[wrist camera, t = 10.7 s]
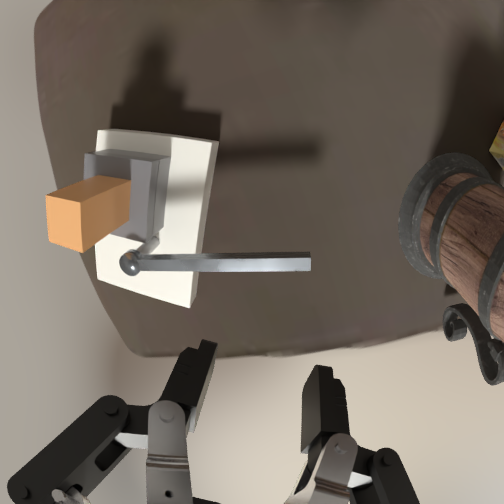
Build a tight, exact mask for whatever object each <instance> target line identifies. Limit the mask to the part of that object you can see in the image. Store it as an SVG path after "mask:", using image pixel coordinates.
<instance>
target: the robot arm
mask: <svg viewBox="0 0 504 504" xmlns="http://www.w3.org/2000/svg"><path fill="white" fill-rule="evenodd" d="M217 348H218V343H215V342H211V341H207V340H204V339H202V341H201V343H200V346H199V348H198V350H197V349H194V348H190V347H188V348H186V349H185V350H184V351H183V352H182V353H180V355H179V358H178V360H177V362H176V364H175V366H174V369H173V371H172V373H171V375H170V377H169V380H168V382H167V384H166V387H165V389H164V391H163V393H162V396H161V397H160V399H159V400H158V401H157V402H155V403H153V404H151V405H148V406H135V405H127V404H126V403H125V402H124V400H122V399H121V398H119V397H117V396H113V395H107V396H103V397H101V398H100V399H99V400H97V401H96V402H95V403H94V404H93V405H92V406H91V407H90V408H88V410H86V411H85V412H84V413H83V414H82V415H81V416H80V417H79V418H77V419H76V420H75V421H74V422H73V423H72V424H71V425H70V426H68V427H67V428H66V429H65V430H64V431H63V432H62V433H61V434H60V435H58V436H57V437H56V438H55V439H54V440H53V441H52V442H51V443H49V444H48V445H47V446H46V447H45V448H44V449H43V450H42V451H40V452H39V453H38V454H37V455H36V456H35V457H34V458H33V459H31V460H30V461H29V462H28V463H27V464H26V465H25V466H24V467H22V468H21V469H20V470H19V471H18V472H17V473H16V474H15V475H13V476H12V477H11V478H10V480H9V481H8V484H7V489H8V493H9V496H10V498H11V499H12V501H13V502H14V503H15V504H91V503H90V501H89V500H88V499H87V496H88V495H89V494H90V493H91V492H92V491H93V490H94V489H95V488H96V486H97V485H98V484H99V483H100V482H101V481H102V480H103V479H104V478H105V477H106V476H107V475H108V474H109V473H110V472H111V471H112V470H113V468H115V466H116V465H117V464H118V463H119V462H120V461H121V460H122V459H123V458H124V457H125V455H127V454H128V452H129V451H130V450H131V449H132V448H140V449H148V457H147V460H146V488H147V504H220V503H217V502H213V501H208V500H204V499H199V498H195V497H192V490H191V481H190V471H189V463H188V457H187V443H186V438H187V435H188V432H189V431H190V432H194V431H195V427H196V424H197V421H198V418H199V415H200V411H201V408H202V405H203V402H204V399H205V395H206V392H207V389H208V386H209V383H210V379H211V376H212V373H213V369H214V364H215V359H216V353H217ZM346 405H347V402H346V394H345V388H344V386H343V384H342V383H341V381H340V379H334V378H333V369H332V367H328V366H322V365H315V366H314V368H313V370H312V372H311V374H310V376H309V377H308V379H307V381H306V383H305V385H304V388H303V392H302V427H301V428H302V430H301V431H302V432H301V453H305V454H308V460H307V461H306V462H305V464H304V466H303V468H302V471H301V473H300V475H299V477H298V480H297V482H296V484H295V486H294V488H293V491H292V492H291V495H290V496H289V498H288V499H287V500H286V501H285V503H284V504H348V502H349V501H350V504H420V503H419V500H418V498H417V496H416V494H415V491H414V489H413V486H412V484H411V482H410V480H409V477H408V475H407V473H406V471H405V468H404V466H403V464H402V462H401V460H400V457H399V455H398V454H397V453H396V452H395V451H394V450H392V449H390V448H382V449H379V450H378V451H377V452H375V451H372V450H369V449H365V448H363V447H360V446H359V445H357V443H356V441H355V440H354V439H353V438H352V437H351V435H350V432H349V431H350V430H349V421H348V411H347V407H346Z"/></svg>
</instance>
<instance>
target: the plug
mask: <svg viewBox="0 0 504 504" xmlns="http://www.w3.org/2000/svg"><path fill="white" fill-rule="evenodd" d="M158 166H159V160H158V159H151V158H144V157H136V156H129V155H121V154H112V153H103V152H89V153H85V160H84V180H83V181H80V182H77V183H75V184H72V185H69V186H67V187H64V188H62V189H59V190H57V191H55V192H52V193H50V194H47V195H46V211H47V224H48V234H49V241H50V242H52V243H55V244H58V245H61V246H64V247H67V248H70V249H73V250H75V251H79V252H82V253H83V252H85V251H86V250H88V249H89V248H90V247H92V246H93V245H94V244H96V243H97V242H99V241H100V240H101V239H103V238H104V237H106V236H107V235H108V234H112V235H115V236H119V237H123V238H127V239H130V240H134V241H138V242H142V243H147V242H148V241H149V240H150V239H152V235H153V219H154V206H155V194H156V184H157V174H158Z"/></svg>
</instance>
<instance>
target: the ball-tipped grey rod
mask: <svg viewBox="0 0 504 504" xmlns="http://www.w3.org/2000/svg"><path fill="white" fill-rule="evenodd" d="M119 265H120V268H121V269H122V271H123V272H124V273H125V274H127V275H129V276H136V275H137V274H138V273H139V272H140V271H196V272H237V271H311V256H310V252H266V253H204V254H141V253H140V252H139V251H137V250H135V249H130V250H128V251H127V252H126V253H124V254H123V255H122V256H121V257H120V259H119Z"/></svg>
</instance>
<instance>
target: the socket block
mask: <svg viewBox="0 0 504 504" xmlns="http://www.w3.org/2000/svg"><path fill="white" fill-rule="evenodd" d="M218 146H219V141H214V140H208V139H201V138H195V137H188V136H181V135H173V134H165V133H156V132H146V131H136V130H123V129H104V130H98V135H97V145H96V152H103V153H112V154H121V155H129V156H136V157H144V158H151V159H158V160H159V166H158V174H157V184H156V194H155V206H154V219H153V235H152V239H150V240H149V241H148V242H147V243H142V242H138V241H134V240H130V239H127V238H123V237H119V236H115V235H112V234H108V235H107V236H106V237H104V238H103V239H101V240H100V241H99V242H97V243H96V244H95V253H96V266H97V277H98V279H99V280H102V281H105V282H107V283H110V284H113V285H116V286H119V287H122V288H125V289H128V290H131V291H134V292H137V293H141V294H144V295H147V296H150V297H153V298H157V299H160V300H163V301H166V302H170V303H173V304H177V305H180V306H184V307H187V308H190V306H191V304H192V302H193V301H194V299H195V297H196V294H197V285H198V277H199V272H196V271H140V272H139V273H138V274H137V275H136V276H129V275H127V274H125V273H124V272H123V271H122V269H121V268H120V265H119V259H120V257H121V256H122V255H123V254H124V253H126V252H127V251H128V250H130V249H135V250H137V251H139V252H140V253H141V254H201V253H202V246H203V238H204V231H205V224H206V218H207V211H208V205H209V198H210V192H211V186H212V180H213V174H214V168H215V163H216V157H217V152H218Z"/></svg>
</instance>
